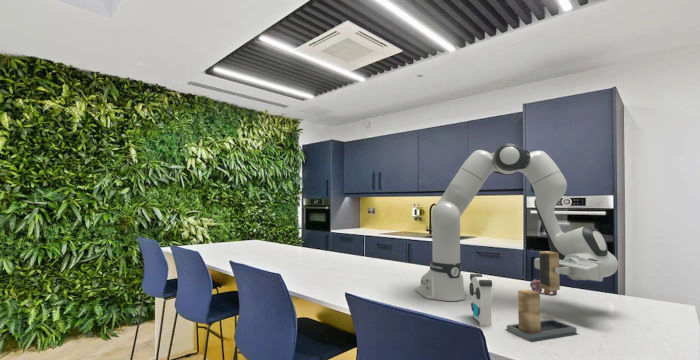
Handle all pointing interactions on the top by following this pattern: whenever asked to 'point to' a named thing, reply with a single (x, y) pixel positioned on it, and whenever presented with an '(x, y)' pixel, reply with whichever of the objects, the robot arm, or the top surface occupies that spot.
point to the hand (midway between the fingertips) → (547, 269)
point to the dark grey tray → (545, 331)
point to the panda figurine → (481, 298)
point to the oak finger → (549, 270)
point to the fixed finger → (529, 311)
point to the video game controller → (536, 286)
